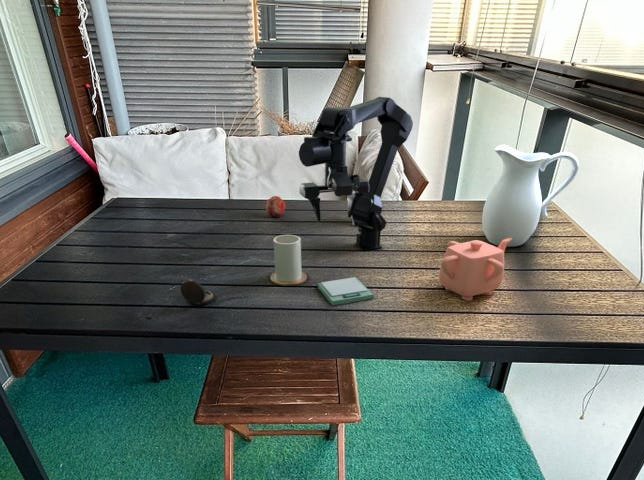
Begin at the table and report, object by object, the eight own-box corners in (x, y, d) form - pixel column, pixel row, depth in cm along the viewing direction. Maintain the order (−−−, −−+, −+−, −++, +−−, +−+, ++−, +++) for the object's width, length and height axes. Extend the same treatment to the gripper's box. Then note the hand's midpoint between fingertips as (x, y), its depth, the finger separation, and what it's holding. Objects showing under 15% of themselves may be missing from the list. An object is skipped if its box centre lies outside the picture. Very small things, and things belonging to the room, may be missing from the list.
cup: (304, 272, 135) (303, 235, 129) (298, 282, 129) (297, 244, 123) (279, 270, 136) (277, 233, 130) (272, 280, 130) (270, 243, 124)
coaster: (300, 268, 138) (300, 267, 138) (311, 282, 130) (311, 280, 130) (266, 273, 136) (266, 272, 135) (275, 288, 128) (275, 286, 127)
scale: (356, 281, 131) (356, 276, 130) (373, 298, 122) (373, 292, 121) (317, 287, 128) (317, 282, 127) (332, 305, 119) (332, 299, 118)
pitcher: (474, 246, 152) (491, 151, 137) (481, 229, 165) (497, 141, 150) (556, 256, 145) (584, 157, 129) (556, 238, 158) (582, 146, 142)
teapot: (435, 300, 121) (442, 249, 114) (439, 275, 134) (446, 228, 127) (505, 307, 118) (517, 256, 110) (502, 281, 130) (513, 233, 123)
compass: (218, 295, 124) (215, 269, 120) (205, 309, 118) (201, 282, 114) (189, 292, 126) (185, 266, 122) (175, 306, 119) (170, 279, 115)
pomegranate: (271, 218, 184) (256, 207, 176) (279, 200, 184) (265, 188, 175) (285, 224, 181) (271, 213, 172) (294, 206, 180) (280, 194, 172)
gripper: (311, 170, 120) (312, 231, 129) (379, 164, 125) (376, 224, 134) (298, 161, 129) (299, 219, 137) (362, 156, 134) (360, 212, 143)
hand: (334, 219), depth 138 cm, fingers open, 9 cm apart
